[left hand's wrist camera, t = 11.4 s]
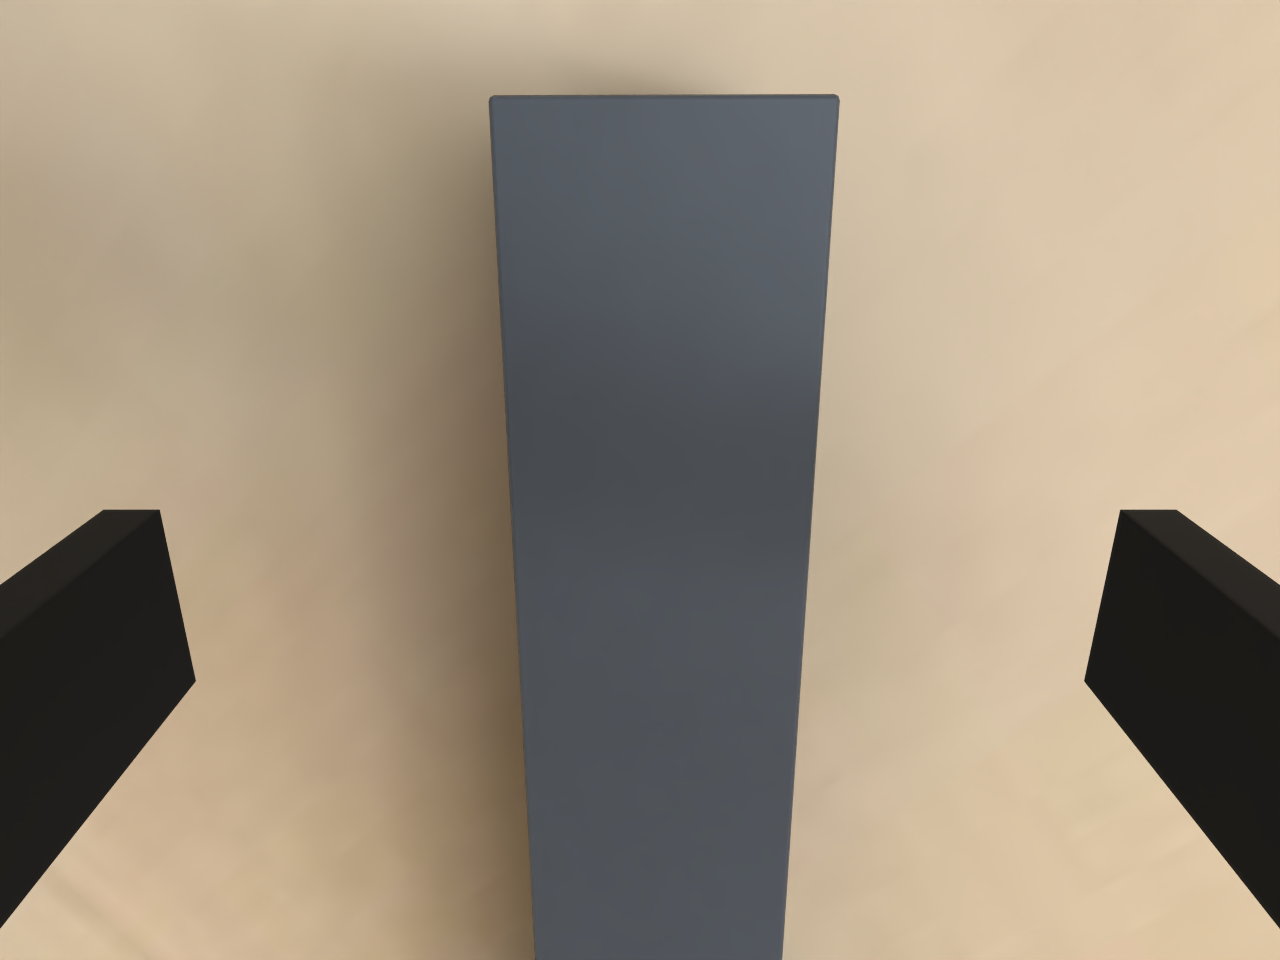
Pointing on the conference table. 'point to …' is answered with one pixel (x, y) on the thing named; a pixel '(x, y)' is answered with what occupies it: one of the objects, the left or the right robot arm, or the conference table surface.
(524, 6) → the conference table surface
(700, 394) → the beam
